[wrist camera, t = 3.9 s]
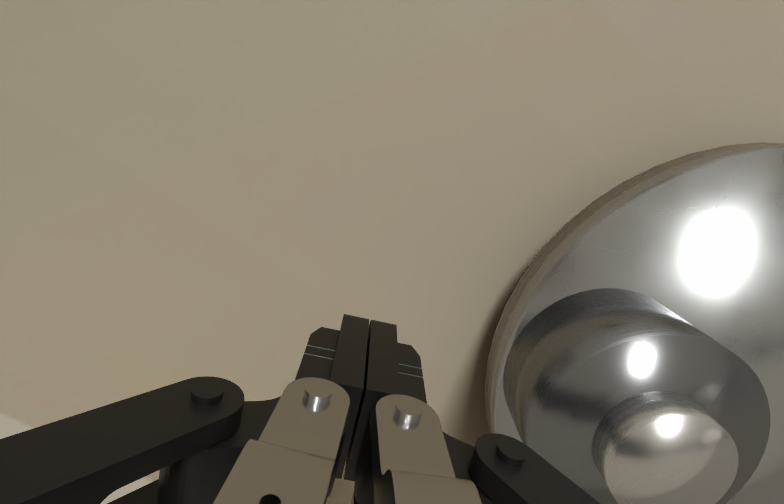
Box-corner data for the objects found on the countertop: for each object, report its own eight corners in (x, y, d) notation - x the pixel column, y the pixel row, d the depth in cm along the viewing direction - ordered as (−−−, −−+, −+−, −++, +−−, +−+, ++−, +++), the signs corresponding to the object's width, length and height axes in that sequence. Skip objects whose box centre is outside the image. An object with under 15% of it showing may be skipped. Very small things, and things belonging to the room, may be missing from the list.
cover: (722, 311, 14) (852, 386, 10) (648, 469, 16) (736, 588, 12) (537, 268, 14) (597, 330, 10) (480, 435, 16) (512, 546, 12)
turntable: (1062, 211, 15) (1443, 263, 10) (817, 593, 20) (984, 777, 14) (576, 83, 14) (697, 60, 9) (432, 520, 19) (451, 691, 13)
